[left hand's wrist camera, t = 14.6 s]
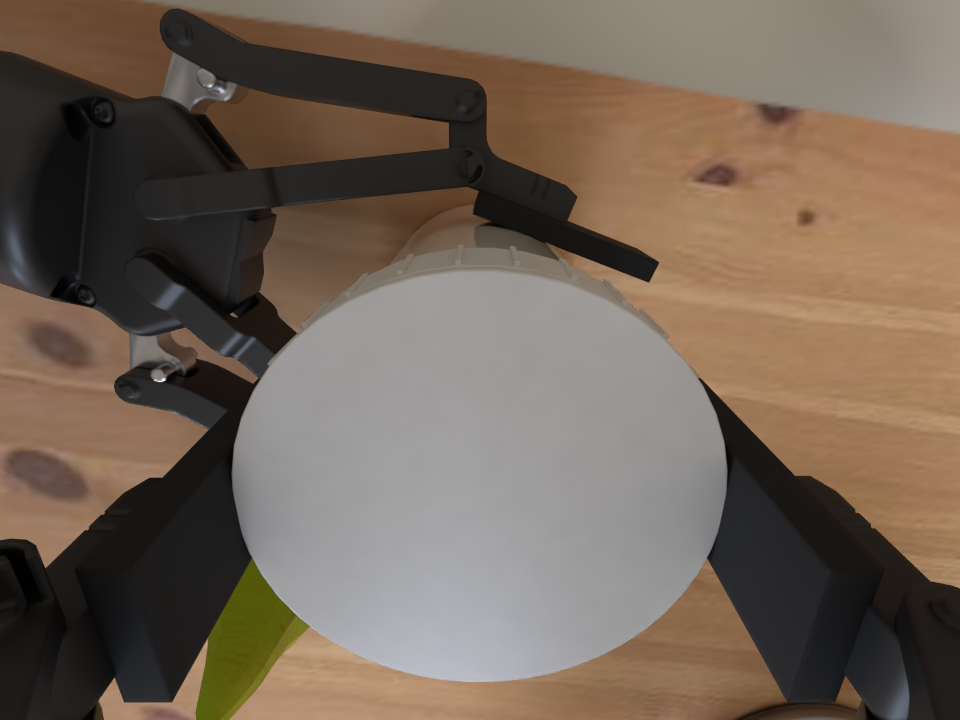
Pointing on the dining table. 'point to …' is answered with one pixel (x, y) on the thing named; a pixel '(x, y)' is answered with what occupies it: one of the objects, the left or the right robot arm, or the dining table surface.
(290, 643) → the fruit
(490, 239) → the jar
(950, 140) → the dining table surface
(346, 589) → the lid
